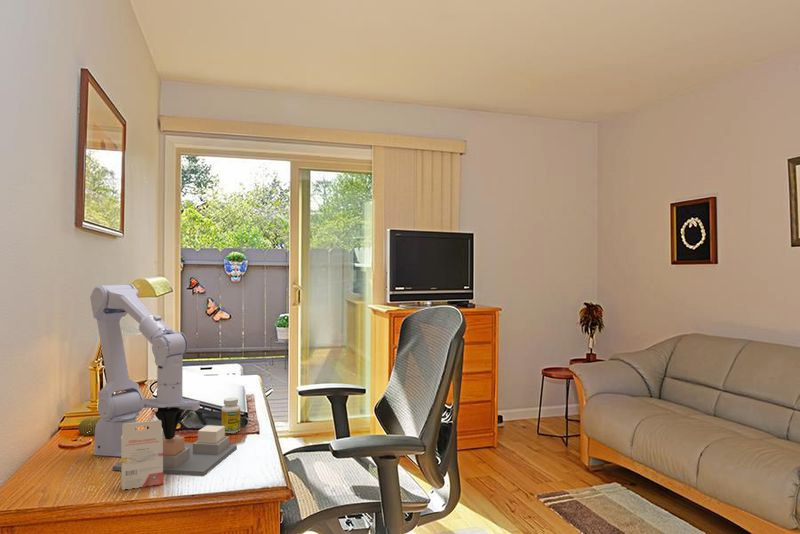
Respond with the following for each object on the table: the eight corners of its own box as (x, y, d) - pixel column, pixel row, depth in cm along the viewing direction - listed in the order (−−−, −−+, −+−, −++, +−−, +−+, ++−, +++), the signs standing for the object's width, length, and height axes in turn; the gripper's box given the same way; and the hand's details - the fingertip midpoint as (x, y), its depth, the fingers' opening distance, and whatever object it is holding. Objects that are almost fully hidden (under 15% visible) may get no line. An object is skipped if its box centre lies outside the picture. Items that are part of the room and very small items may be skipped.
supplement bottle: (234, 427, 170) (235, 395, 170) (243, 431, 166) (243, 399, 166) (218, 431, 166) (218, 398, 166) (226, 435, 163) (226, 402, 162)
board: (112, 470, 135) (112, 455, 135) (156, 444, 154) (156, 431, 154) (203, 475, 132) (203, 460, 132) (236, 448, 151) (236, 435, 151)
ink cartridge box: (162, 477, 131) (163, 414, 131) (163, 485, 127) (163, 420, 127) (121, 482, 128) (122, 418, 128) (120, 490, 123) (120, 424, 123)
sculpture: (102, 422, 161) (73, 423, 160) (102, 436, 161) (73, 437, 160) (113, 414, 168) (85, 415, 168) (113, 428, 169) (85, 429, 168)
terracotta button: (154, 456, 136) (154, 442, 136) (165, 449, 141) (165, 435, 141) (174, 457, 135) (174, 443, 135) (184, 450, 140) (184, 436, 140)
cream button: (197, 444, 145) (197, 430, 145) (206, 438, 150) (206, 425, 150) (216, 445, 144) (216, 431, 144) (224, 439, 149) (224, 426, 149)
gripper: (132, 385, 135) (132, 441, 135) (189, 387, 133) (189, 444, 133) (149, 379, 142) (149, 432, 142) (203, 381, 140) (203, 435, 140)
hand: (169, 438), depth 138 cm, fingers closed
